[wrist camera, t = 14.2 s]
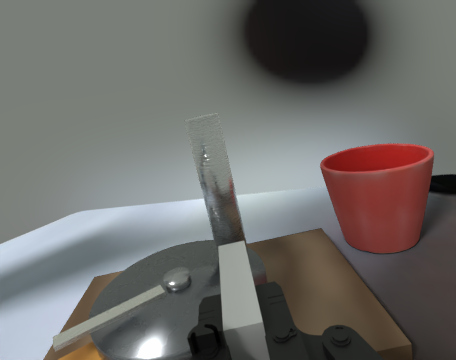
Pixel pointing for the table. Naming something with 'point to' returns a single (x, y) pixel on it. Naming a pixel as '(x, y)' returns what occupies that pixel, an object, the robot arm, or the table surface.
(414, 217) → the flower pot
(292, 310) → the walnut base board
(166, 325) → the wheel
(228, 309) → the robot arm
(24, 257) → the table surface
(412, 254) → the table surface
